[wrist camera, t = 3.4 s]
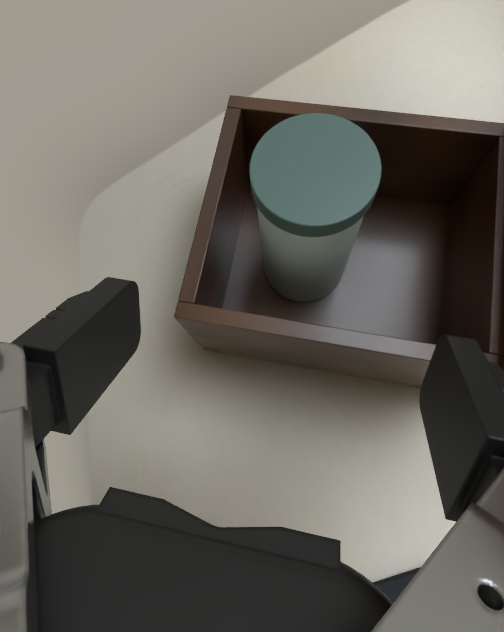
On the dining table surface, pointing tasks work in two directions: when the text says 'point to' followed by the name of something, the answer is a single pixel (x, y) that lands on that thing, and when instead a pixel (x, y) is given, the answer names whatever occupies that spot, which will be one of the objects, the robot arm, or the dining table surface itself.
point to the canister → (312, 200)
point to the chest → (360, 251)
